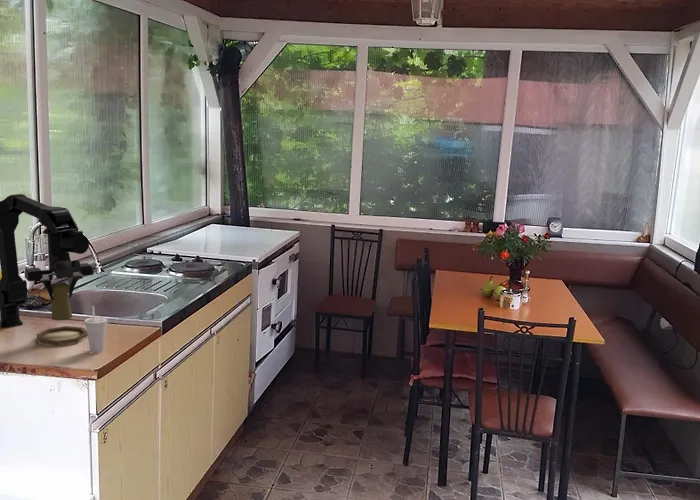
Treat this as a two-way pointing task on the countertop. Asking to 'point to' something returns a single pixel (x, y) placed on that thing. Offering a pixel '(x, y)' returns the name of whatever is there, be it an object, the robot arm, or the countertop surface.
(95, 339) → the smoothie
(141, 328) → the countertop surface
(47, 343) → the tray
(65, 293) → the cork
